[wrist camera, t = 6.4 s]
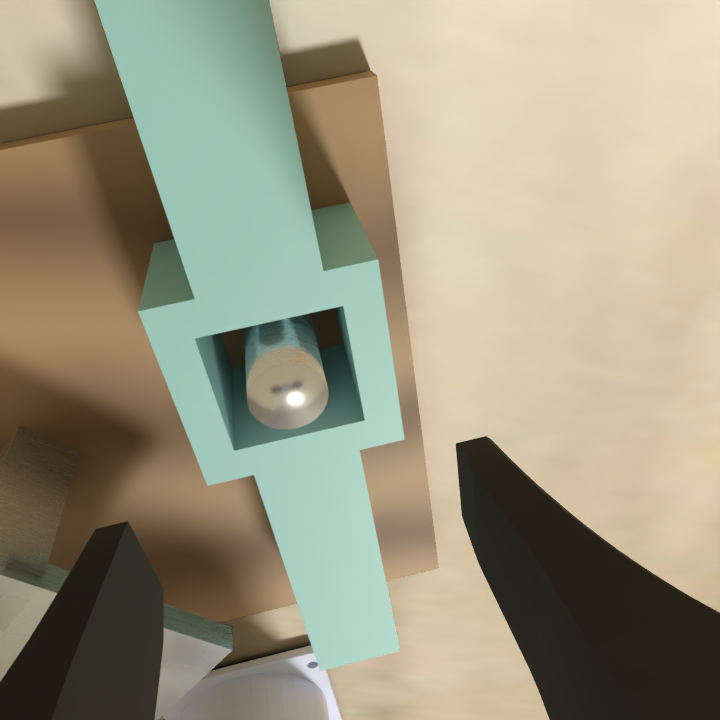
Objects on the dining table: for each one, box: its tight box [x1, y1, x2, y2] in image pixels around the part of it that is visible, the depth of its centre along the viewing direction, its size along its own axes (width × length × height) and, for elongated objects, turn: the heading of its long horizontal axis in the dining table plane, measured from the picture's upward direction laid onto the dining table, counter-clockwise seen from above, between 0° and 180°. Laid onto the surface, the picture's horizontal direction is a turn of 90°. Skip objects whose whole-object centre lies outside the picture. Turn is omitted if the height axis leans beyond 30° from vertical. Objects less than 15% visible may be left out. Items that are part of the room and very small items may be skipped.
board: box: [0, 71, 439, 623], centre depth 22 cm, size 20×17×1 cm
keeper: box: [0, 426, 233, 720], centre depth 21 cm, size 6×8×5 cm
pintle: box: [244, 313, 328, 430], centre depth 18 cm, size 2×2×5 cm
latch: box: [94, 0, 405, 671], centre depth 19 cm, size 23×6×4 cm, turn 9°
